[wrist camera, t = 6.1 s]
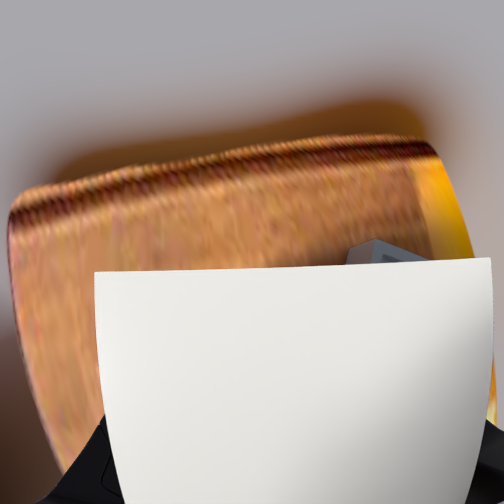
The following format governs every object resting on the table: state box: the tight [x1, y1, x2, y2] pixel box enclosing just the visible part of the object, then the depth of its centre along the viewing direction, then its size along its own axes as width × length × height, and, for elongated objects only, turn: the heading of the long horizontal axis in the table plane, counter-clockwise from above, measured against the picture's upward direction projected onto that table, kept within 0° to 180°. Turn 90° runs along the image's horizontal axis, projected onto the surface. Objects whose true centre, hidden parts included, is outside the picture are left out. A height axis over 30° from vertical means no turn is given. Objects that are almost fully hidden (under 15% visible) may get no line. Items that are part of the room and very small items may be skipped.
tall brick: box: [95, 257, 494, 504], centre depth 10 cm, size 6×6×13 cm
